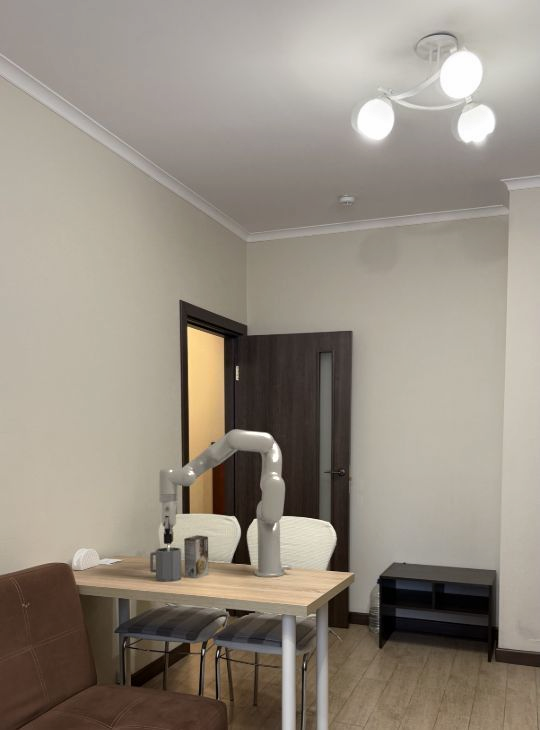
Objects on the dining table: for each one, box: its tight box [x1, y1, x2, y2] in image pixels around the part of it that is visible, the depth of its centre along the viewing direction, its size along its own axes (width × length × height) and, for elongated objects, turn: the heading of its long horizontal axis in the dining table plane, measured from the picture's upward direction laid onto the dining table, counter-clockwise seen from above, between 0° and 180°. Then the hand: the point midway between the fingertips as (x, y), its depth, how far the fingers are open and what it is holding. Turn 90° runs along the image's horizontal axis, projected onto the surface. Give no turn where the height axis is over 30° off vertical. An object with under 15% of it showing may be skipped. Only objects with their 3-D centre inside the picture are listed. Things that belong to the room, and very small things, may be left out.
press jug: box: [149, 546, 182, 583], centre depth 289 cm, size 13×10×12 cm
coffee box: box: [183, 534, 210, 579], centre depth 294 cm, size 9×6×16 cm
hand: (168, 542), depth 289 cm, fingers closed on plunger, 4 cm apart
